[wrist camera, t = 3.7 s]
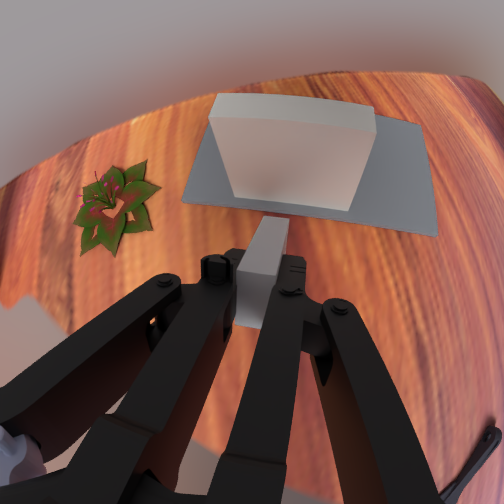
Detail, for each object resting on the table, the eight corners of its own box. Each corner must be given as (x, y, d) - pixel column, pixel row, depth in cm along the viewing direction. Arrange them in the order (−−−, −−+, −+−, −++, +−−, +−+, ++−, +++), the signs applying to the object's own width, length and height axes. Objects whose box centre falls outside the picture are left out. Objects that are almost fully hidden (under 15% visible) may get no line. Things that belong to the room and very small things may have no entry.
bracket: (518, 438, 14) (532, 441, 11) (443, 544, 11) (452, 554, 8) (445, 405, 18) (461, 410, 15) (352, 531, 14) (357, 546, 12)
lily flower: (172, 243, 26) (151, 222, 21) (73, 275, 26) (45, 262, 21) (161, 149, 30) (146, 122, 25) (77, 184, 30) (56, 165, 26)
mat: (419, 127, 26) (420, 125, 26) (435, 237, 22) (438, 235, 22) (218, 102, 30) (217, 99, 30) (182, 202, 26) (181, 200, 26)
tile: (348, 185, 24) (373, 104, 15) (347, 211, 23) (376, 133, 14) (240, 172, 26) (219, 90, 17) (234, 197, 25) (208, 117, 16)
